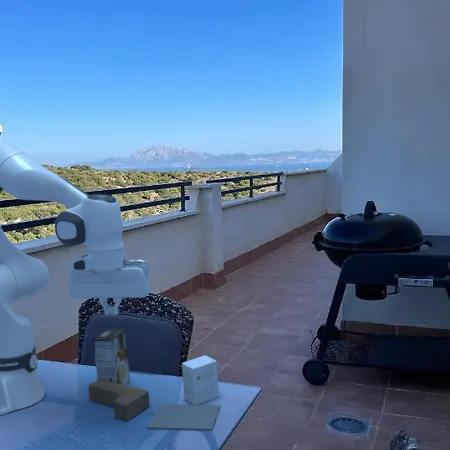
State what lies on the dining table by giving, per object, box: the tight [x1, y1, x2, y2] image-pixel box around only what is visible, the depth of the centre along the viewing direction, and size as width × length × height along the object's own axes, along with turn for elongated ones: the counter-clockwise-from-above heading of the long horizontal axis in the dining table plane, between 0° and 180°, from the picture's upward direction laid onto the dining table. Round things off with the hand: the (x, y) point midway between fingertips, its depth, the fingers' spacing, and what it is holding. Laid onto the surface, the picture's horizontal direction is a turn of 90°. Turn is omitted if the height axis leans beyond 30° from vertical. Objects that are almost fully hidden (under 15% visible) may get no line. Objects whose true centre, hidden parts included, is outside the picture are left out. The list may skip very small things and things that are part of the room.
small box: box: [181, 354, 220, 405], centre depth 145 cm, size 8×6×10 cm
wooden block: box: [88, 379, 150, 422], centre depth 144 cm, size 9×4×18 cm
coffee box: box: [92, 328, 131, 386], centre depth 155 cm, size 9×6×16 cm
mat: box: [147, 403, 221, 431], centre depth 136 cm, size 16×12×1 cm
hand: (111, 314), depth 135 cm, fingers closed
